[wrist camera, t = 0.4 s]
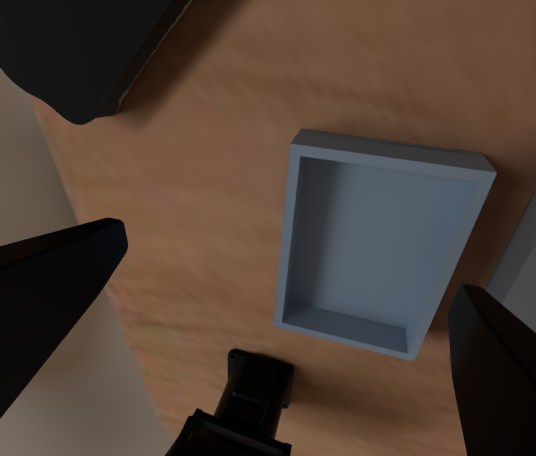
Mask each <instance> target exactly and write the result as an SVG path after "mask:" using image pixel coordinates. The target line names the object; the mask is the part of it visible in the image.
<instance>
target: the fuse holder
mask: <svg viewBox="0 0 536 456" xmlns="http://www.w3.org/2000/svg"><path fill="white" fill-rule="evenodd" d="M484 290H486V291H487V292H488V293H489V294H490V295H492V296H493V297H494V298H495V299H496V300H497V301H499V302H500V303H501V304H502V305H503V306H505V307H506V308H507V309H508V310H509V311H511V312H512V313H513V314H514V315H515V316H516V317H518V318H519V319H520V320H521V321H522V322H524V323H525V324H526V325H527V326H528V327H529V328H531V329H532V330H533V331H534V332H535V333H536V191H535V193H534V195H533V197H532V199H531V201H530V203H529V205H528V207H527V208H526V210H525V212H524V214H523V216H522V218H521V220H520V222H519V224H518V226H517V228H516V230H515V232H514V234H513V235H512V237H511V239H510V241H509V243H508V245H507V247H506V249H505V251H504V253H503V255H502V257H501V259H500V261H499V262H498V264H497V266H496V268H495V270H494V272H493V274H492V276H491V278H490V280H489V282H488V284H487V286H486V288H485V289H484ZM449 358H450V362H451V356H450V357H449Z"/></svg>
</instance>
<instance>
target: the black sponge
mask: <svg viewBox="0 0 536 456" xmlns="http://www.w3.org/2000/svg"><path fill="white" fill-rule="evenodd" d="M191 2H192V0H0V68H1V69H2V70H3V71H4V73H5V74H6V75H7V76H8V77H9V78H10V79H11V80H12V81H13V82H14V83H15V84H16V85H18V86H19V87H20V88H22V89H23V90H24V91H26V92H28V93H30V94H32V95H33V96H35V97H37V98H39V99H41V100H42V101H44V102H45V103H47V104H48V105H49V106H51V107H52V108H53V109H54V110H55V111H56V112H58V113H59V114H60V115H61V116H62V117H63V118H65V119H66V120H68V121H70V122H71V123H73V124H77V125H83V124H86V123H88V122H90V121H92V120H94V119H95V118H99V117H105V116H112V115H115V114H116V113H118V112H119V110H120V107H121V103H122V100H123V99H124V97H125V96H126V95H127V93H128V91H129V90H130V88H131V86H132V84H133V83H134V81H135V80H136V78H137V77H138V75H139V74H140V73H141V71H142V70H143V68H144V67H145V65H146V64H147V62H148V61H149V60H150V59H151V57H152V55H153V54H154V53H155V51H156V50H157V49H158V47H159V46H160V44H161V43H162V41H163V40H164V39H165V37H166V36H167V34H168V33H169V31H170V30H171V29H172V28H173V27H174V26H175V25H176V24H177V23H178V20H179V19H180V18H181V16H182V15H183V14H184V12H185V10H186V9H187V8H188V6H189V5H190V4H191Z"/></svg>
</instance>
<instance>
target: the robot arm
mask: <svg viewBox="0 0 536 456" xmlns="http://www.w3.org/2000/svg"><path fill="white" fill-rule="evenodd" d="M127 249H128V241H127V236H126V231H125V226H124V223H123V222H122V221H121V220H119V219H114V218H104V219H100V220H97V221H93V222H89V223H85V224H82V225H78V226H75V227H71V228H67V229H63V230H59V231H55V232H52V233H48V234H45V235H40V236H37V237H33V238H29V239H25V240H22V241H18V242H14V243H11V244H7V245H3V246H0V418H1V417H2V416H3V415H4V413H5V412H6V411H7V410H8V408H9V407H10V406H11V404H12V403H13V402H14V401H15V400H16V398H17V397H18V396H19V394H20V393H21V392H22V391H23V389H24V388H25V387H26V386H27V384H28V383H29V382H30V380H31V379H32V378H33V377H34V376H35V374H36V373H37V372H38V370H39V369H40V368H41V367H42V366H43V364H44V363H45V362H46V361H47V359H48V358H49V357H50V356H51V354H52V353H53V352H54V350H55V349H56V348H57V347H58V345H59V344H60V343H61V342H62V340H63V339H64V338H65V337H66V335H67V334H68V333H69V332H70V330H71V329H72V328H73V326H74V325H75V324H76V323H77V322H78V320H79V319H80V318H81V316H82V315H83V314H84V313H85V312H86V310H87V309H88V308H89V306H90V305H91V304H92V303H93V301H94V300H95V299H96V298H97V296H98V295H99V294H100V292H101V290H102V289H103V288H104V286H105V285H106V283H107V282H108V280H109V278H110V277H111V275H112V274H113V272H114V271H115V269H116V268H117V266H118V264H119V263H120V261H121V260H122V258H123V257H124V255H125V254H126V252H127ZM448 326H449V341H450V356H451V370H452V379H453V385H454V390H455V396H456V401H457V406H458V411H459V416H460V421H461V426H462V431H463V436H464V441H465V446H466V452H467V456H536V333H535V332H534V331H533V330H532V329H531V328H529V327H528V326H527V325H526V324H525V323H524V322H522V321H521V320H520V319H519V318H518V317H516V316H515V315H514V314H513V313H512V312H511V311H509V310H508V309H507V308H506V307H505V306H503V305H502V304H501V303H500V302H499V301H497V300H496V299H495V298H494V297H493V296H492V295H490V294H489V293H488V292H487V291H486V290H484V289H483V288H482V287H480V286H475V285H469V284H462V285H460V286H459V288H458V290H457V292H456V295H455V297H454V299H453V302H452V304H451V306H450V309H449V313H448ZM293 375H294V367H293V366H292V365H289V364H285V363H281V362H278V361H274V360H270V359H267V358H263V357H259V356H256V355H252V354H248V353H244V352H241V351H237V350H230V351H229V353H228V382H227V384H226V387H225V389H224V392H223V394H222V396H221V399H220V401H219V404H218V406H217V409H216V411H215V413H214V416H213V415H210V414H208V413H205V412H203V410H201V409H198V408H197V409H196V411H195V412H194V414H193V416H188V418H187V420H186V422H185V425H184V427H183V429H182V431H181V433H180V434H179V436H178V438H177V439H176V440H175V442H174V443H173V445H172V446H171V448H170V449H169V450H168V452H167V453H166V455H165V456H290V454H291V447H292V445H291V444H288V443H282V442H280V441H277V440H275V435H276V431H277V427H278V423H279V419H280V415H281V411H282V408H288V406H289V401H290V394H291V388H292V381H293Z"/></svg>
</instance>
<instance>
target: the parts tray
mask: <svg viewBox="0 0 536 456" xmlns="http://www.w3.org/2000/svg"><path fill="white" fill-rule="evenodd" d="M496 174H497V172H496V171H495V169H494V168H493V167H492V166H491V164H490V163H489V162H488V160H487V159H486V158H485V157H484V155H483V154H482V153H478V152H470V151H463V150H455V149H448V148H440V147H433V146H425V145H417V144H410V143H402V142H395V141H387V140H380V139H372V138H365V137H357V136H349V135H342V134H334V133H327V132H319V131H312V130H304V129H301V130H300V131H299V132H298V134H297V135H296V137H295V138H294V139H293V141H292V142H291V144H290V155H289V166H288V177H287V187H286V198H285V209H284V219H283V230H282V241H281V252H280V262H279V273H278V284H277V294H276V305H275V316H274V327H278V328H282V329H286V330H290V331H294V332H298V333H302V334H306V335H310V336H314V337H318V338H322V339H326V340H330V341H334V342H338V343H342V344H346V345H350V346H354V347H358V348H362V349H366V350H370V351H374V352H378V353H382V354H386V355H390V356H394V357H398V358H402V359H406V360H410V361H415V359H416V356H417V354H418V352H419V350H420V347H421V345H422V343H423V340H424V338H425V336H426V334H427V331H428V329H429V327H430V324H431V322H432V320H433V318H434V315H435V313H436V311H437V309H438V306H439V304H440V302H441V299H442V297H443V295H444V293H445V290H446V288H447V286H448V284H449V281H450V279H451V277H452V274H453V272H454V270H455V268H456V265H457V263H458V261H459V259H460V256H461V254H462V252H463V249H464V247H465V245H466V243H467V240H468V238H469V236H470V234H471V231H472V229H473V227H474V224H475V222H476V220H477V218H478V215H479V213H480V211H481V208H482V206H483V204H484V202H485V199H486V197H487V195H488V193H489V190H490V188H491V186H492V183H493V181H494V179H495V177H496Z"/></svg>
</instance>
